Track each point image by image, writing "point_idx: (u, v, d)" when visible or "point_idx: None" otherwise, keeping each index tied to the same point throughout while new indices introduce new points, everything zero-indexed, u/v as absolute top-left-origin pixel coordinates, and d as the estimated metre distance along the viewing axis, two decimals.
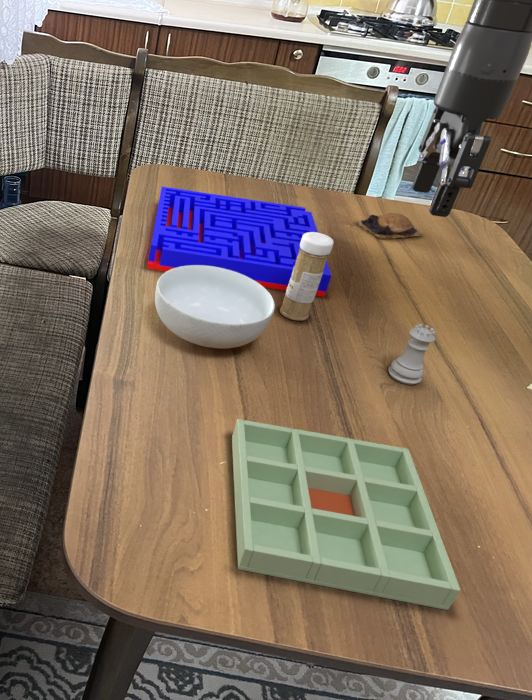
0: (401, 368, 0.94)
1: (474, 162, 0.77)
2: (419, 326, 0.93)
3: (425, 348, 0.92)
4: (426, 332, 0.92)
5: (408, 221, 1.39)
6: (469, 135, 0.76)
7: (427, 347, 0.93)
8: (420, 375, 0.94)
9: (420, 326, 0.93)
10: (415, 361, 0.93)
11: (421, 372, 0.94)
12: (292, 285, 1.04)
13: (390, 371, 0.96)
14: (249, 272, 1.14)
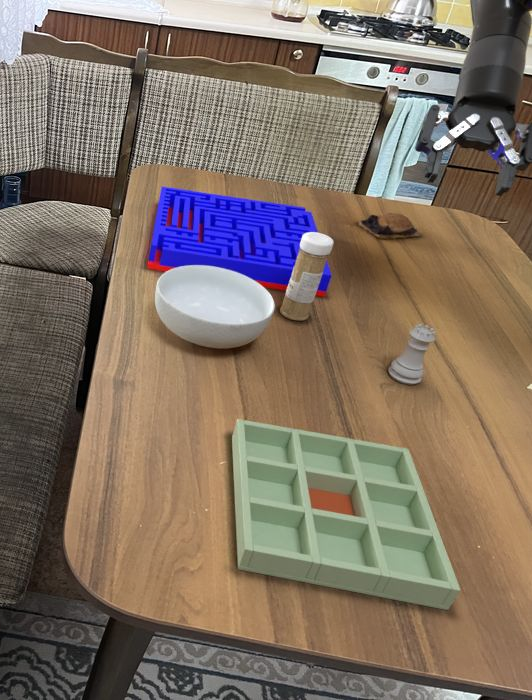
0: (401, 368, 0.94)
1: (423, 125, 0.94)
2: (419, 326, 0.93)
3: (425, 348, 0.92)
4: (426, 332, 0.92)
5: (408, 221, 1.39)
6: None
7: (427, 347, 0.93)
8: (420, 375, 0.94)
9: (420, 326, 0.93)
10: (415, 361, 0.93)
11: (421, 372, 0.94)
12: (292, 285, 1.04)
13: (390, 371, 0.96)
14: (249, 272, 1.14)
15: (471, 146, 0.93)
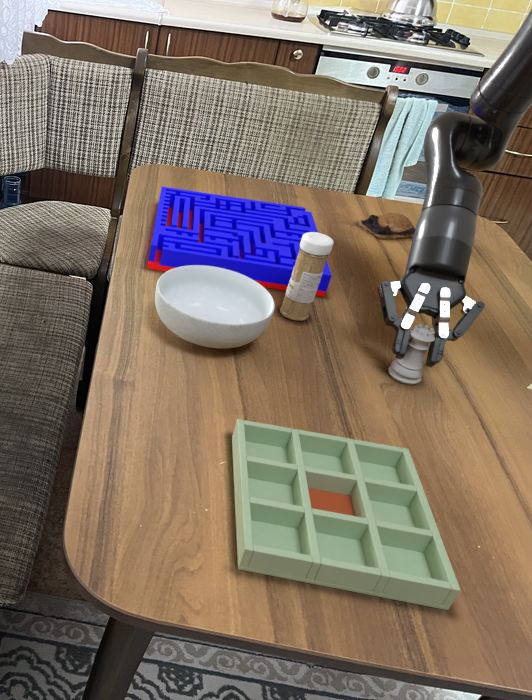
0: (401, 368, 0.94)
1: (383, 302, 0.95)
2: (419, 326, 0.93)
3: (425, 348, 0.92)
4: (426, 332, 0.92)
5: (408, 221, 1.39)
6: (379, 286, 0.97)
7: (427, 347, 0.93)
8: (420, 375, 0.94)
9: (420, 326, 0.93)
10: (415, 361, 0.93)
11: (421, 372, 0.94)
12: (292, 285, 1.04)
13: (390, 371, 0.96)
14: (249, 272, 1.14)
15: (422, 312, 0.94)
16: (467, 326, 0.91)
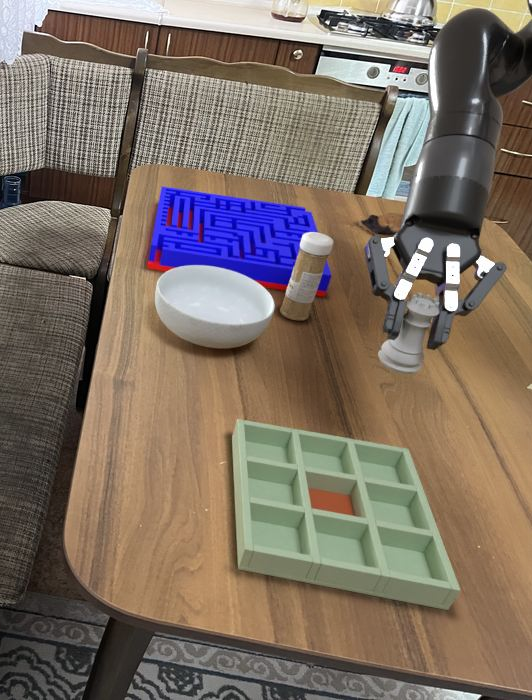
0: (394, 352, 0.71)
1: (371, 264, 0.72)
2: (418, 296, 0.70)
3: (426, 325, 0.69)
4: (427, 303, 0.69)
5: None
6: (366, 245, 0.74)
7: (429, 323, 0.70)
8: (420, 361, 0.71)
9: (419, 296, 0.70)
10: (412, 342, 0.70)
11: (420, 358, 0.71)
12: (292, 285, 1.04)
13: (380, 356, 0.73)
14: (249, 272, 1.14)
15: (423, 278, 0.71)
16: (483, 295, 0.68)
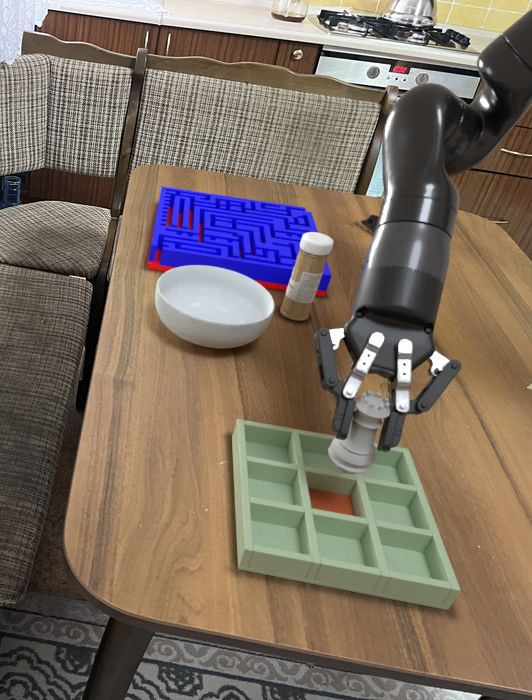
0: (344, 452, 0.67)
1: (320, 358, 0.67)
2: (368, 394, 0.65)
3: (376, 426, 0.65)
4: (377, 403, 0.64)
5: None
6: (315, 334, 0.69)
7: (379, 424, 0.65)
8: (370, 461, 0.67)
9: (370, 394, 0.65)
10: (362, 443, 0.66)
11: (371, 458, 0.67)
12: (292, 285, 1.04)
13: (330, 453, 0.69)
14: (249, 272, 1.14)
15: (374, 373, 0.67)
16: (436, 396, 0.64)
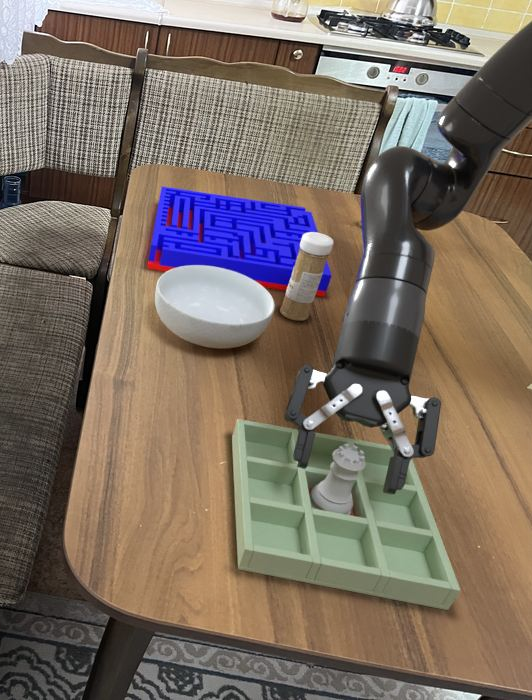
0: (322, 500, 0.71)
1: (293, 390, 0.71)
2: (345, 447, 0.69)
3: (352, 477, 0.69)
4: (353, 457, 0.68)
5: None
6: None
7: (355, 476, 0.69)
8: (348, 510, 0.71)
9: (346, 447, 0.69)
10: (340, 493, 0.70)
11: (349, 506, 0.71)
12: (292, 285, 1.04)
13: (310, 501, 0.73)
14: (249, 272, 1.14)
15: (354, 421, 0.70)
16: (433, 437, 0.67)
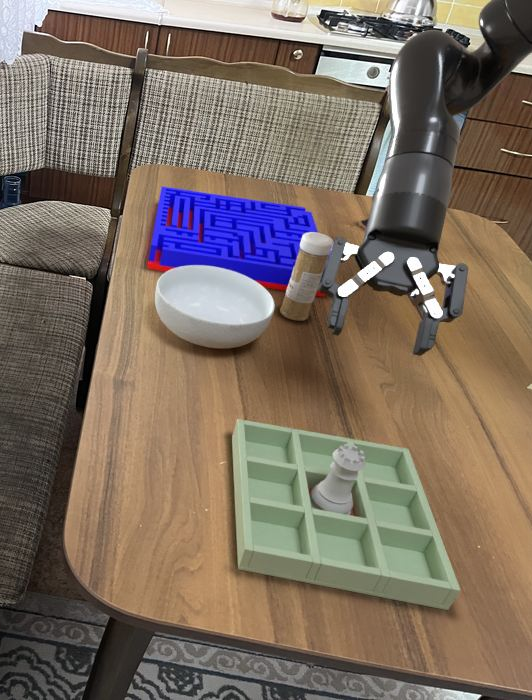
0: (322, 500, 0.71)
1: (327, 262, 0.75)
2: (345, 447, 0.69)
3: (352, 477, 0.69)
4: (353, 457, 0.68)
5: None
6: None
7: (355, 476, 0.69)
8: (348, 510, 0.71)
9: (346, 447, 0.69)
10: (340, 493, 0.70)
11: (349, 506, 0.71)
12: (292, 285, 1.04)
13: (310, 501, 0.73)
14: (249, 272, 1.14)
15: (385, 290, 0.74)
16: (461, 299, 0.71)
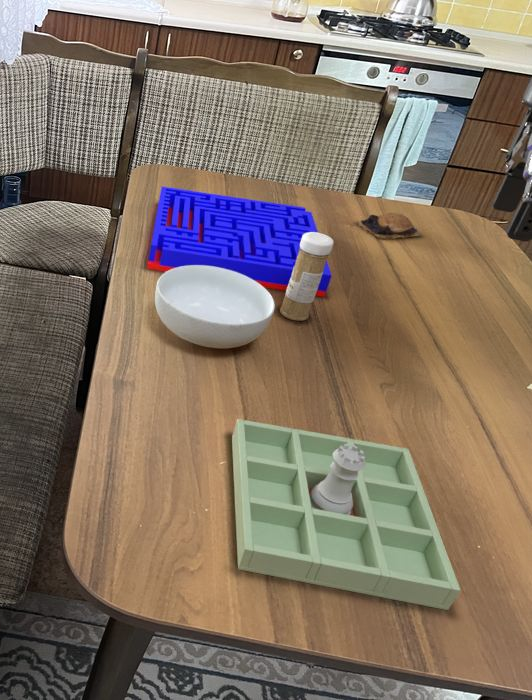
0: (322, 500, 0.71)
1: None
2: (345, 447, 0.69)
3: (352, 477, 0.69)
4: (353, 457, 0.68)
5: (408, 221, 1.39)
6: None
7: (355, 476, 0.69)
8: (348, 510, 0.71)
9: (346, 447, 0.69)
10: (340, 493, 0.70)
11: (349, 506, 0.71)
12: (292, 285, 1.04)
13: (310, 501, 0.73)
14: (249, 272, 1.14)
15: None
16: None
